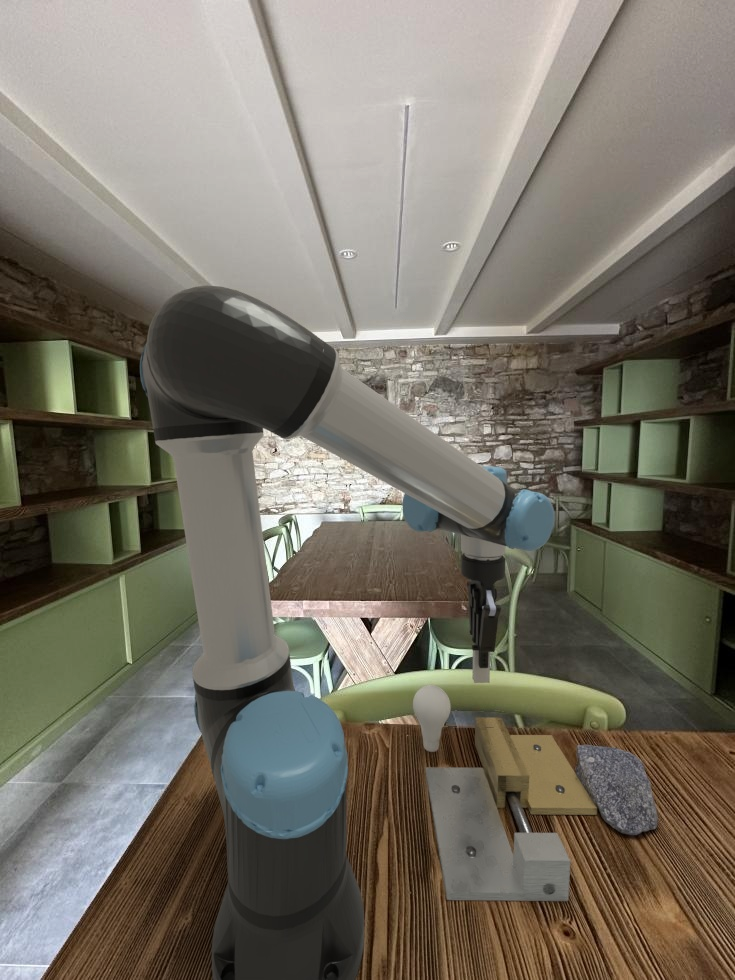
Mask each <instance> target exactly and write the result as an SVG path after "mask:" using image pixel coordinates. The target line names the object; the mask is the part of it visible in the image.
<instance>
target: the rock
mask: <svg viewBox="0 0 735 980" xmlns="http://www.w3.org/2000/svg"><path fill="white" fill-rule="evenodd" d="M575 753H576V755H575V756H576V759H577V761H576V762H577V765H575V767H574V768H575V769H574V772H575V774H576V775H577V777H578V778H579V780H580V781H581V783H582V785H583V786H584V788H585V789H586V791H587V793H588V794H589V796H590V797H591V799H592V801H593V802H594V804H595V805H596V807H597V809H598V811H599V813H600V816H601V818H602V819H603V820H604V822H605V823H607V824H608V825H610V826H611V828H613V829H615V830H616V831H617V832H619V833H621V834H623V835H624V834H625V835H629V836H637V835H639V834H641V833H642V832H649V831H651V830H656V829H657V827H658V821H659V820H658V818H659V817H658V812H657V806H656V802H655V799H654V795H653V793H652V792H653V791H652V784H651V783H652V782H651V781H650V779H649V777H648V776H647V773H646V768H645V765H644V763H643V761H642V760H641V759H640V758H638V756H636V755H634V754H633V753H632V752H630V751H628V750H624V749H619V748H618V747H608V746H601V745H599V746H596V745H591V744H581V745H580V744H578V745H577V746H576V751H575Z"/></svg>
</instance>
